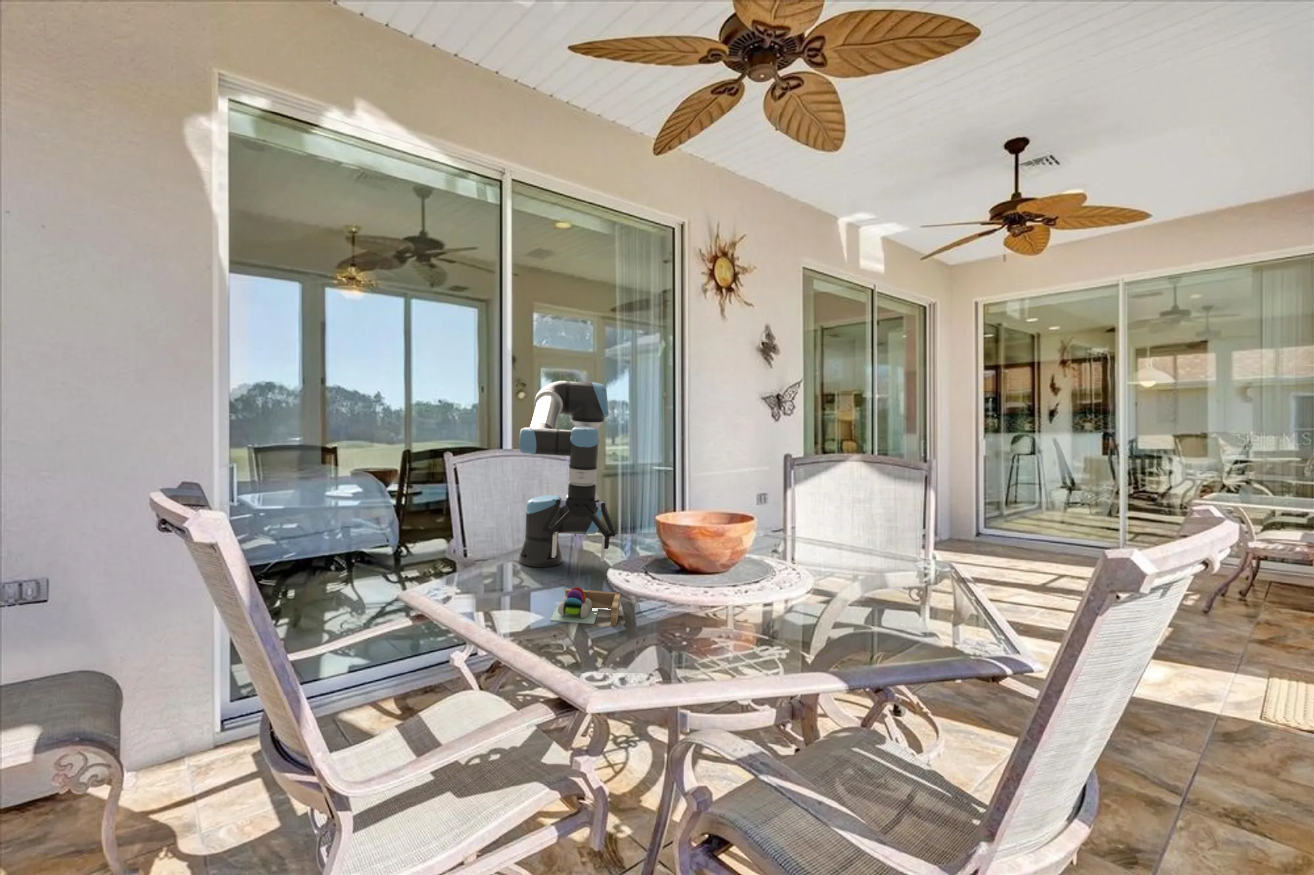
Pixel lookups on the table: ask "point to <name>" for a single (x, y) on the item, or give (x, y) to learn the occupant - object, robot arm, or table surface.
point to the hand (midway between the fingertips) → (578, 558)
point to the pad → (574, 617)
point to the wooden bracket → (604, 601)
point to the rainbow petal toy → (575, 603)
